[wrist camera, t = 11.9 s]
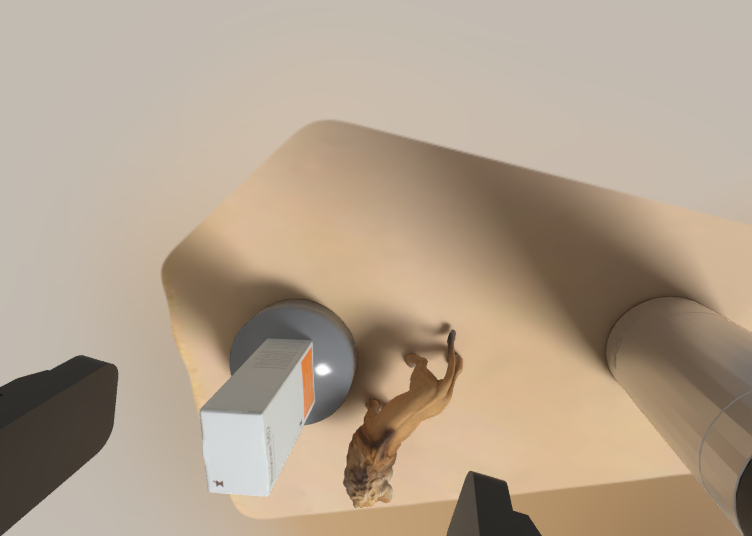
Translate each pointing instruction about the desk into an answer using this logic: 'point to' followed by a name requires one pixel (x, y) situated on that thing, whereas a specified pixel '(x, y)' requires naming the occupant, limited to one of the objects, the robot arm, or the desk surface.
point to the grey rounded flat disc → (329, 348)
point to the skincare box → (258, 418)
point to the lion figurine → (395, 429)
